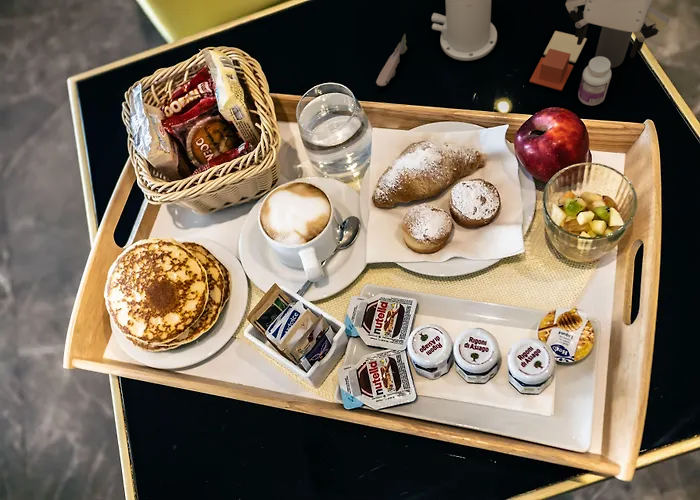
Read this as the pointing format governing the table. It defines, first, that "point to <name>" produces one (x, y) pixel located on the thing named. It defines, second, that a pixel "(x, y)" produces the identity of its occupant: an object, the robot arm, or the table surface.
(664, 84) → the table surface
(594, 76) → the pill bottle
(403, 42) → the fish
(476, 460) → the table surface
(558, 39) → the cream pad
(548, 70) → the terracotta block
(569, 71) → the clay pad
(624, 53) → the bottle
